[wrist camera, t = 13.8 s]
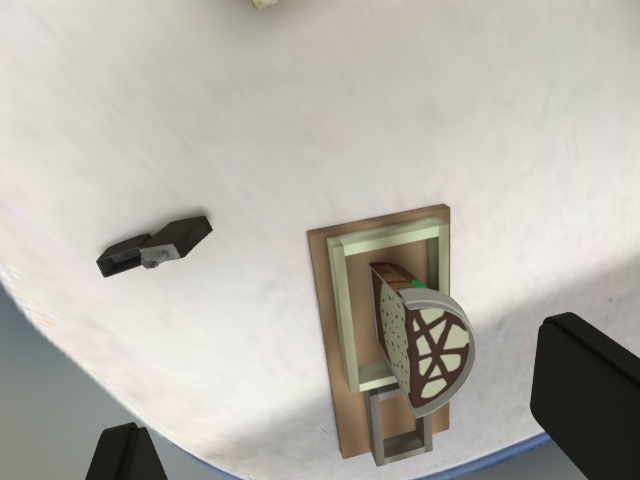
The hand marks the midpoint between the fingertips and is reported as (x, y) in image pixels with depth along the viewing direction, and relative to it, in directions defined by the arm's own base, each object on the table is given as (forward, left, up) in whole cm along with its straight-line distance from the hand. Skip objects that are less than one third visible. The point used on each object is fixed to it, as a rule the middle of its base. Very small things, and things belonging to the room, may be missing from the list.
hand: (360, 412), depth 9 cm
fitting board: (-10, +22, -28) cm, 37 cm away
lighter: (+10, +5, -29) cm, 31 cm away
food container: (-12, +16, -27) cm, 34 cm away
